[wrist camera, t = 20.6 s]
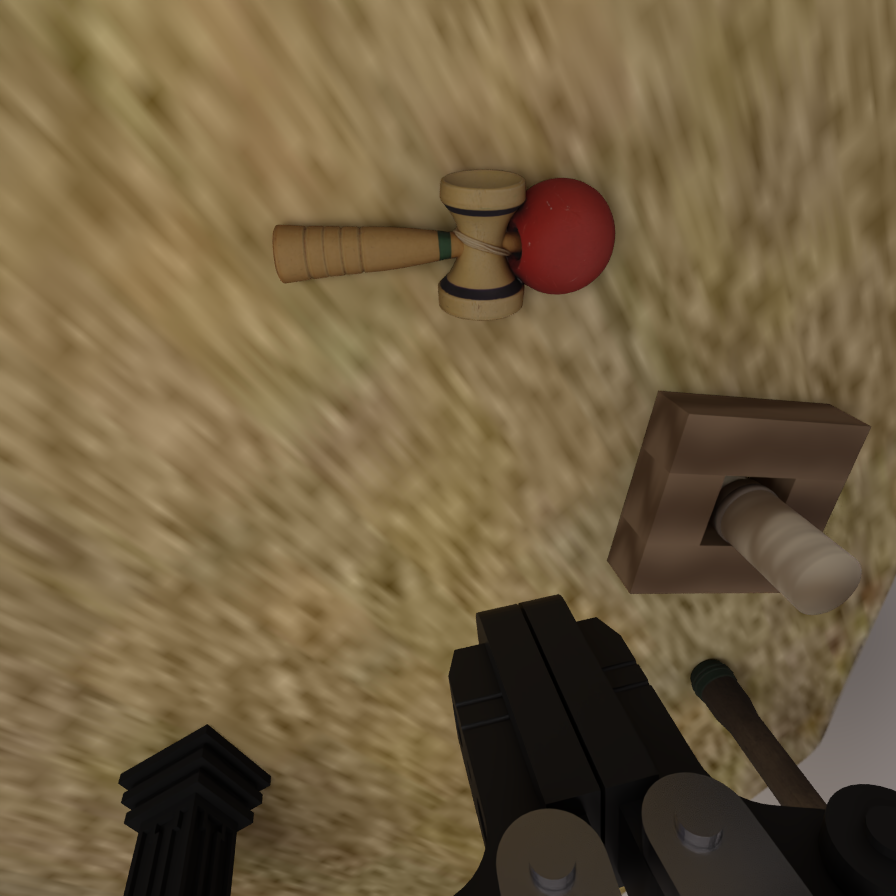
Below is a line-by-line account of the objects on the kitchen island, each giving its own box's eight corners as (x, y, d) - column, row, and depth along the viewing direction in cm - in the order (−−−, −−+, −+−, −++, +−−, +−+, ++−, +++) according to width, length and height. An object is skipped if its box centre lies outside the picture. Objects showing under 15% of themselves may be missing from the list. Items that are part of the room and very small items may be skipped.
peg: (695, 456, 47) (810, 552, 36) (749, 459, 48) (875, 553, 37) (677, 510, 49) (780, 616, 38) (729, 512, 50) (843, 615, 39)
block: (658, 390, 44) (689, 414, 40) (829, 404, 47) (871, 426, 43) (607, 560, 49) (630, 593, 46) (762, 561, 53) (794, 592, 49)
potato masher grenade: (642, 688, 57) (931, 1172, 31) (710, 621, 55) (1084, 1079, 28) (702, 717, 60) (1007, 1174, 34) (767, 654, 58) (1149, 1091, 32)
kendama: (300, 325, 38) (597, 305, 39) (277, 338, 32) (630, 314, 33) (282, 187, 36) (598, 167, 37) (255, 173, 30) (633, 149, 31)
